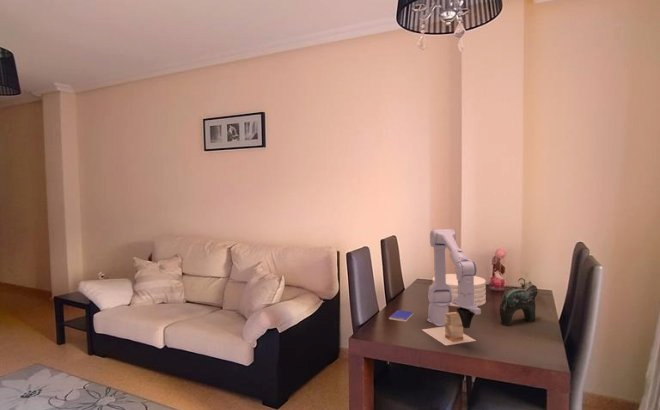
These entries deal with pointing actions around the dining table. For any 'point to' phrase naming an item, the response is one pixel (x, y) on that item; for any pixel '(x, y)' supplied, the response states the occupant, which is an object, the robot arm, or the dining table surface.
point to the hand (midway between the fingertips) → (466, 327)
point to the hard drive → (401, 315)
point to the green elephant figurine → (518, 302)
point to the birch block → (453, 327)
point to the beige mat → (440, 336)
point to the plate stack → (478, 288)
